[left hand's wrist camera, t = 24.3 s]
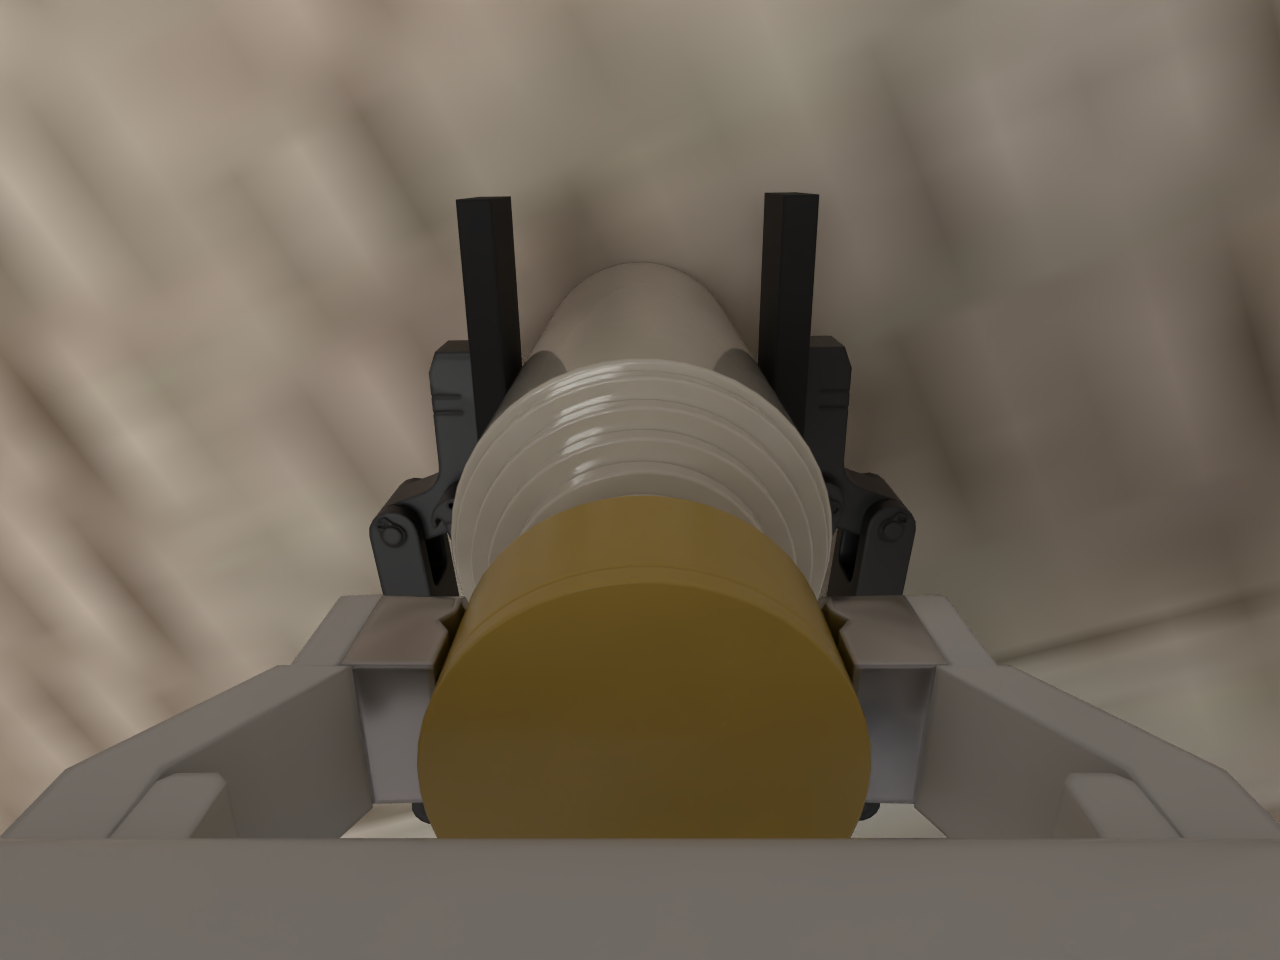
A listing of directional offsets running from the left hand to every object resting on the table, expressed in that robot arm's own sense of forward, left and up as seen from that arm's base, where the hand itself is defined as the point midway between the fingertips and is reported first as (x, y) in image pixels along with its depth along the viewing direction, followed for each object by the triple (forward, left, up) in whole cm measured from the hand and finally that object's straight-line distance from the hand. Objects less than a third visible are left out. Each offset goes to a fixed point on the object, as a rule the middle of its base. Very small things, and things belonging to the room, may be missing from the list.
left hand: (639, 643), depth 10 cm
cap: (0, 0, +2) cm, 2 cm away
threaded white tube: (0, 0, -17) cm, 17 cm away
